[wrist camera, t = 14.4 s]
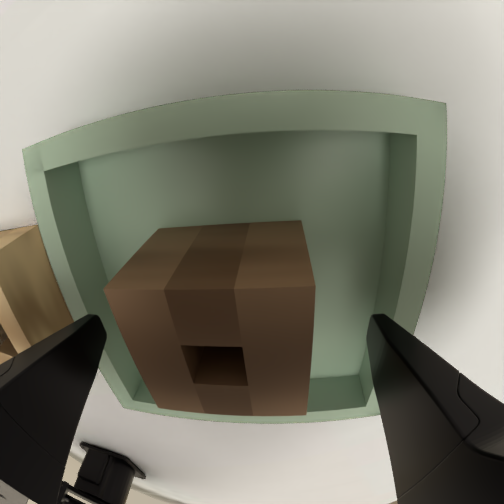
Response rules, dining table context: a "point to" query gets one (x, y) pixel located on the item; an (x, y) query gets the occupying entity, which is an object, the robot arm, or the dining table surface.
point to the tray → (256, 213)
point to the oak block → (27, 292)
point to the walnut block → (220, 317)
